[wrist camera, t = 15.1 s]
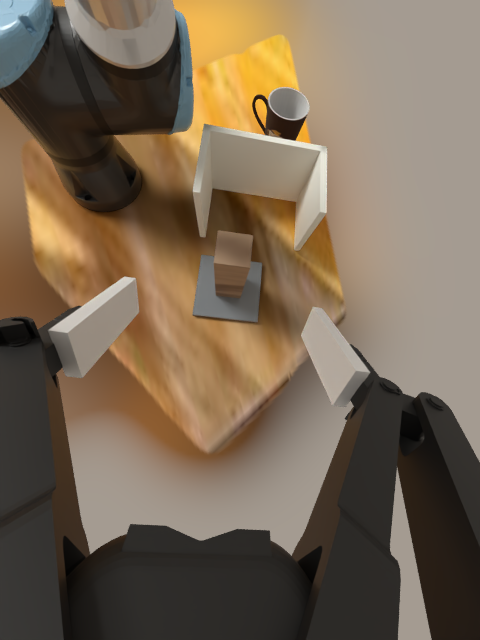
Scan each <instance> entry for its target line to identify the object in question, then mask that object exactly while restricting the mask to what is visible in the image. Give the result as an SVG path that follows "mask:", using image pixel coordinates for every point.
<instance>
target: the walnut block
mask: <svg viewBox="0 0 480 640" xmlns="http://www.w3.org/2000/svg"><path fill="white" fill-rule="evenodd" d="M252 242H253V235H248V234H241V233H234V232H227V231H220V230H218V233H217V241H216V248H215V256H214V277H215V293H216V296H223V297H232V298H240V297H241V294H242V291H243V288H244V285H245V282H246V279H247V276H248V273H249V270H250V264H251V253H252Z"/></svg>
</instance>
